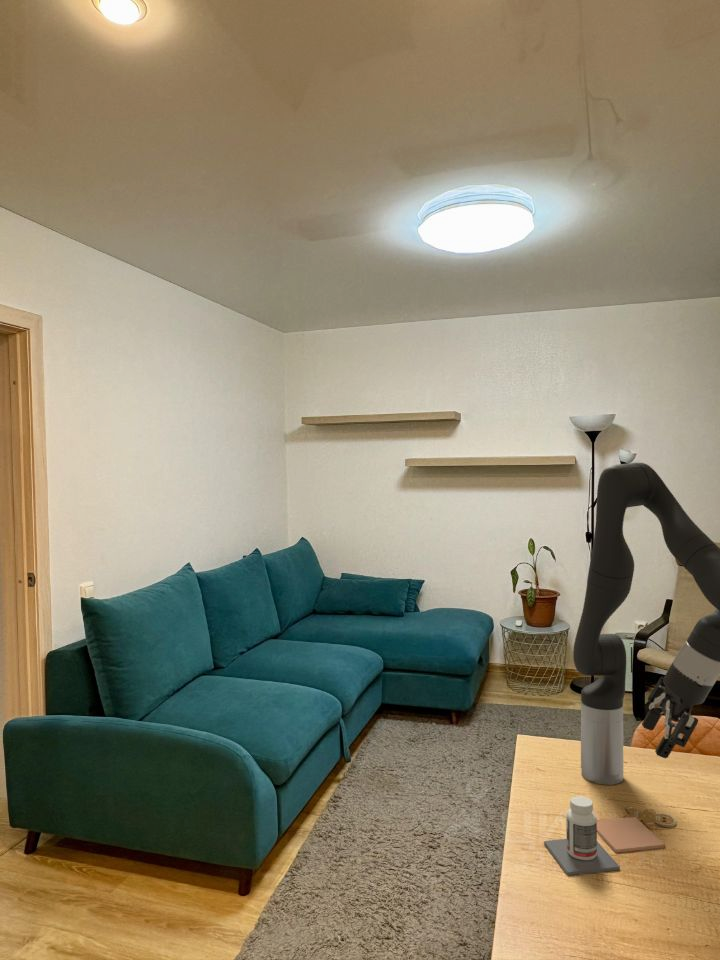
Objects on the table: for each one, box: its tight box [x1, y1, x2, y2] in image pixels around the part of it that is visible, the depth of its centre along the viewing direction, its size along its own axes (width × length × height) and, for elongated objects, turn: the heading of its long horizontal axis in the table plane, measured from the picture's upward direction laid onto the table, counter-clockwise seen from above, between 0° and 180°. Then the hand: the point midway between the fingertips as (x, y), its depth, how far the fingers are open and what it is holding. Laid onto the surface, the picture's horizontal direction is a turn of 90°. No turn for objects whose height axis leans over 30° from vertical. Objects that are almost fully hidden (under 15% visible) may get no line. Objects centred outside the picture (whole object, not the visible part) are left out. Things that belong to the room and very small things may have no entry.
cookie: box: [623, 806, 677, 830], centre depth 137 cm, size 8×1×10 cm
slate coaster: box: [543, 838, 621, 876], centre depth 125 cm, size 10×10×1 cm
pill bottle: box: [565, 795, 598, 860], centre depth 125 cm, size 5×5×10 cm
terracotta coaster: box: [597, 817, 666, 854], centre depth 131 cm, size 10×10×1 cm
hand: (653, 741), depth 127 cm, fingers open, 8 cm apart
